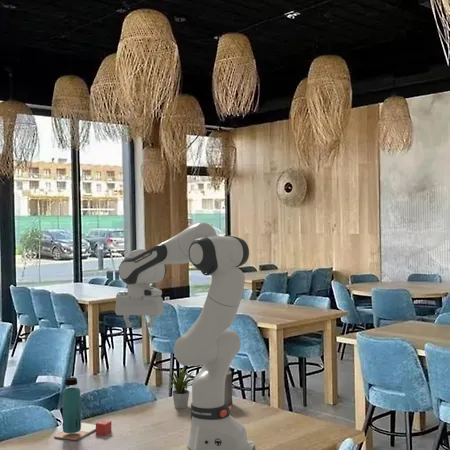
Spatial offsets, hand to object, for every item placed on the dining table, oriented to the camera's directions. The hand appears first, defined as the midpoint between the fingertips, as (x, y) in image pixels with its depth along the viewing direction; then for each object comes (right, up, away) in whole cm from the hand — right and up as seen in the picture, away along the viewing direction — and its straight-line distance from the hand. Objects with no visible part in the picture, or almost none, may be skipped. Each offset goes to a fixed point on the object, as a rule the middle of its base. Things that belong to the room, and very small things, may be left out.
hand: (139, 327), depth 229 cm
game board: (-20, -36, -15) cm, 43 cm away
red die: (-11, -35, -16) cm, 40 cm away
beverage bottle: (-21, -35, -19) cm, 45 cm away
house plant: (+15, -36, +13) cm, 41 cm away
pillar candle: (+31, -36, +17) cm, 50 cm away
